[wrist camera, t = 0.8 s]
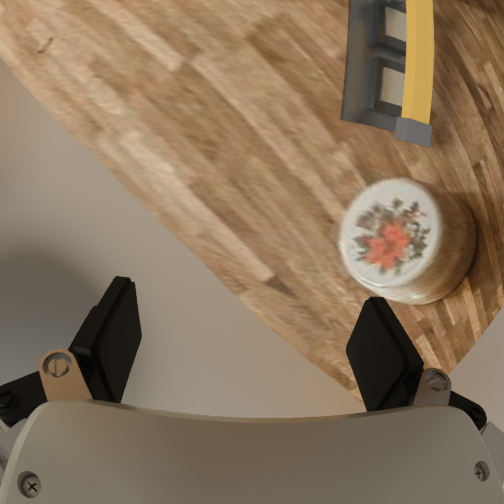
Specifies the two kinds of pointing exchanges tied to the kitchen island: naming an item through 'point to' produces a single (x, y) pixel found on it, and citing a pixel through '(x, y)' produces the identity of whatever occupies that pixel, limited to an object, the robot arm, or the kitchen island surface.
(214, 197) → the kitchen island surface
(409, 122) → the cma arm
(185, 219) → the kitchen island surface
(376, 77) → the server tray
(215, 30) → the kitchen island surface
